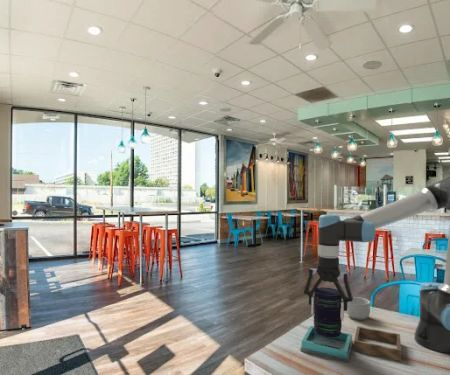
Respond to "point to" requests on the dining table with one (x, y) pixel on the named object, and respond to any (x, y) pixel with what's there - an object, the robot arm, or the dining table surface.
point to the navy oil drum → (327, 312)
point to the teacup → (358, 308)
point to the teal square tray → (328, 345)
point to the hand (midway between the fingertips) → (327, 316)
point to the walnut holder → (374, 348)
